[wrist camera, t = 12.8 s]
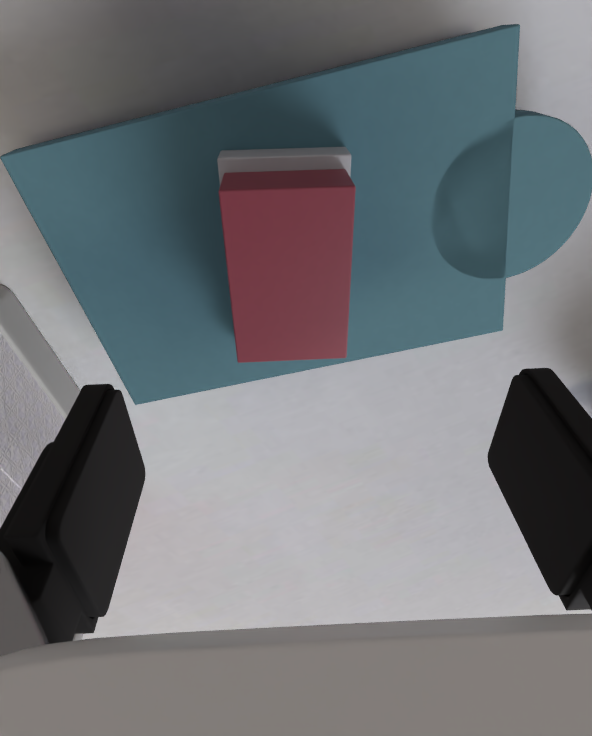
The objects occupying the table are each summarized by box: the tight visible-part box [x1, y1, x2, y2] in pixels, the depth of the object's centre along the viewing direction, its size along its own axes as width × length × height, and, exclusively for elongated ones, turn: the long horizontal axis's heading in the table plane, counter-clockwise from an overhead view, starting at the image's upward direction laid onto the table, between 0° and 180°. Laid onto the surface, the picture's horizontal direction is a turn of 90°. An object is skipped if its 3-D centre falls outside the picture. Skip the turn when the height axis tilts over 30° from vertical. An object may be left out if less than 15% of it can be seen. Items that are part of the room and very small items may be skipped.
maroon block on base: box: [217, 147, 356, 363], centre depth 19 cm, size 9×5×4 cm, turn 1°
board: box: [0, 24, 592, 405], centre depth 22 cm, size 24×13×4 cm, turn 102°
